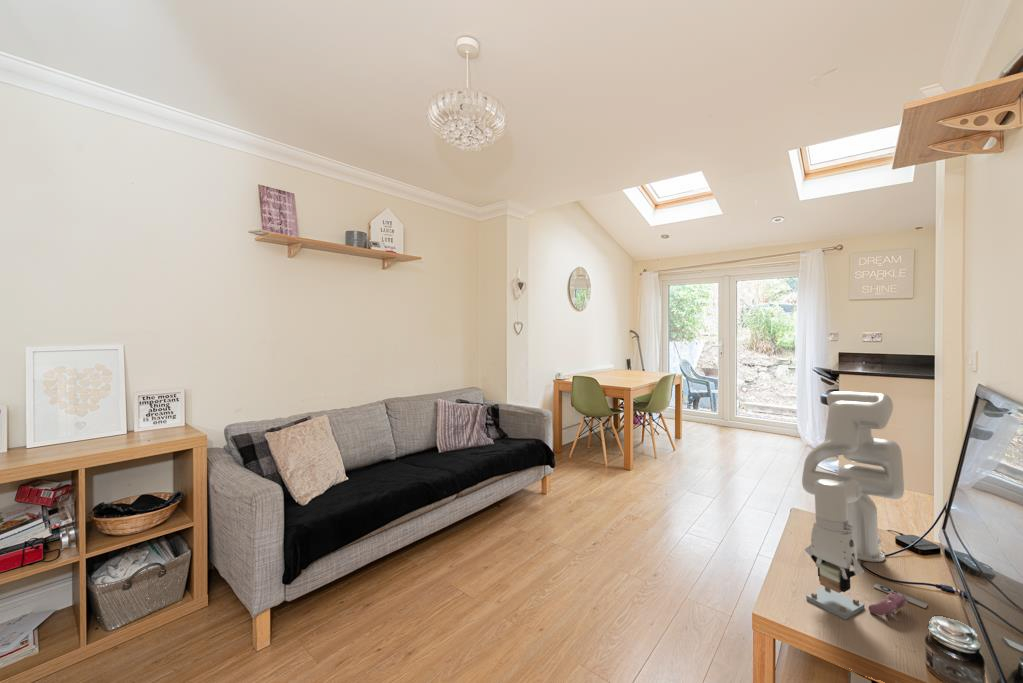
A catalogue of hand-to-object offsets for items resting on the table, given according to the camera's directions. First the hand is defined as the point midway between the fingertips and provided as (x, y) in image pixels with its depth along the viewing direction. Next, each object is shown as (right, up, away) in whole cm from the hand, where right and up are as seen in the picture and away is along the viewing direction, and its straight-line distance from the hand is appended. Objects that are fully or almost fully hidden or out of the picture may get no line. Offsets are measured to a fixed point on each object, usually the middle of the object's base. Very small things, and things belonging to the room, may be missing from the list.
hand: (833, 584), depth 118 cm
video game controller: (+12, -6, -4) cm, 14 cm away
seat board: (0, -6, 0) cm, 6 cm away
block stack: (0, 0, 0) cm, 0 cm away
